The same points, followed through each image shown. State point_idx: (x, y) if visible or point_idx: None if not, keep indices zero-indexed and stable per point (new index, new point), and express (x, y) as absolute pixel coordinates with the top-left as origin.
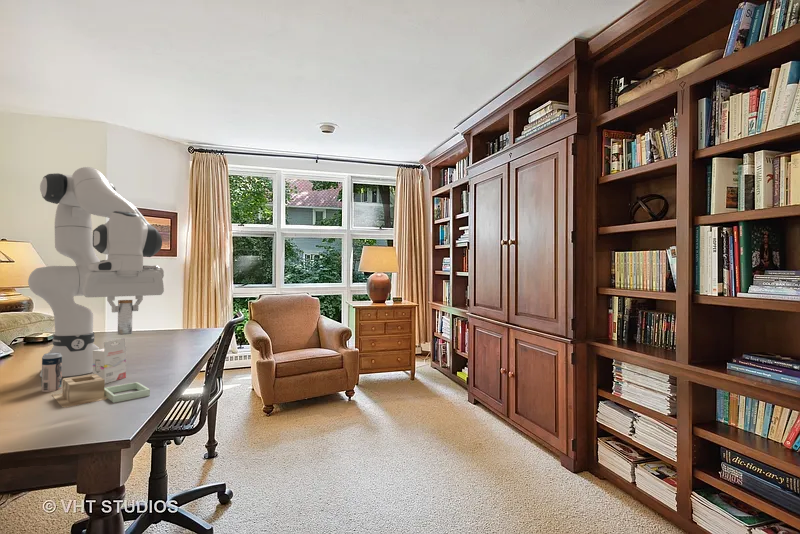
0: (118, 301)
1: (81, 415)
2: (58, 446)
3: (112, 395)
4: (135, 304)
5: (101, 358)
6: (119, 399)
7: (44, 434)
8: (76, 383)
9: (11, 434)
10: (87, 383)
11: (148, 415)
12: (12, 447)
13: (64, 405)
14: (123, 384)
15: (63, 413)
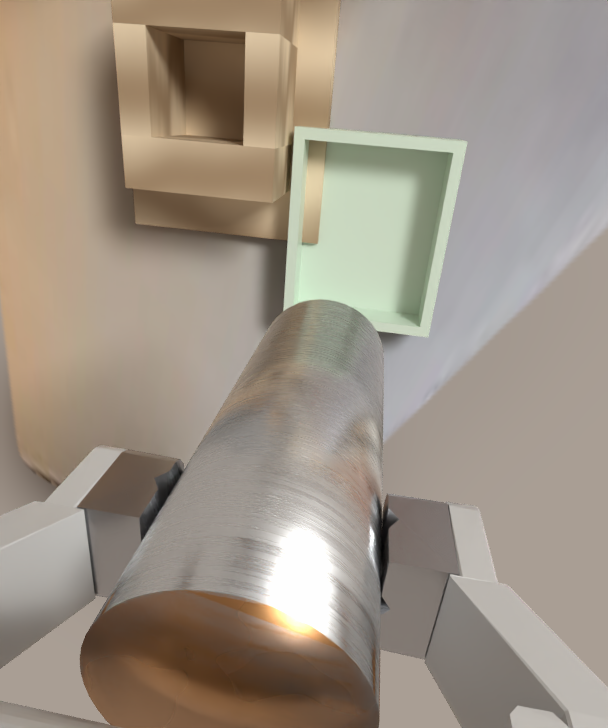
0: (94, 661)
1: (183, 324)
2: None
3: (284, 302)
4: (443, 633)
5: None
6: None
7: (84, 412)
8: (152, 169)
9: (15, 344)
10: (197, 193)
11: None
12: (26, 441)
13: (142, 195)
14: (393, 135)
15: (141, 250)
